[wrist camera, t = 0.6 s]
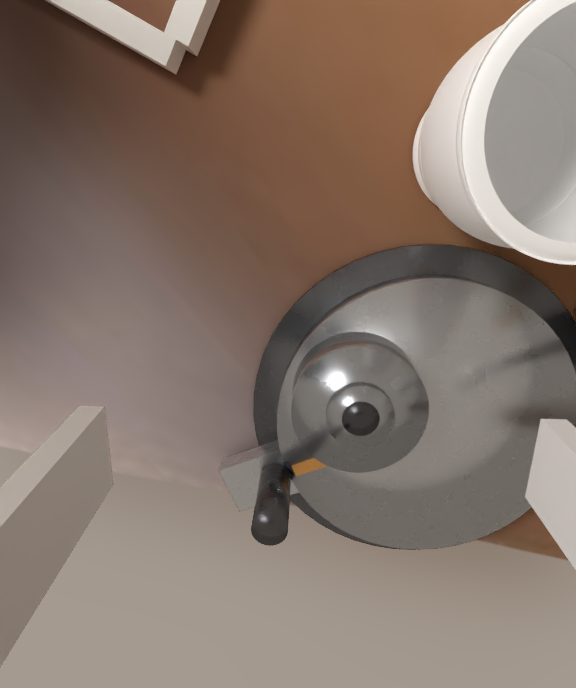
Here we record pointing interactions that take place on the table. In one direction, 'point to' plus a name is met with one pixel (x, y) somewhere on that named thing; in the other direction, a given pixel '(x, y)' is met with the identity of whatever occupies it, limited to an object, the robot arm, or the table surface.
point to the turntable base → (377, 271)
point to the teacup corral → (148, 27)
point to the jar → (509, 136)
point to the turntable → (443, 421)
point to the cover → (358, 403)
